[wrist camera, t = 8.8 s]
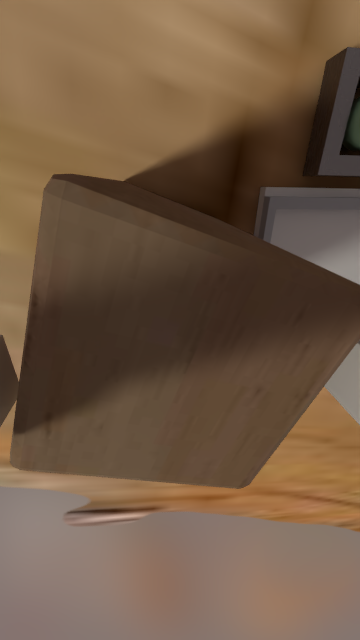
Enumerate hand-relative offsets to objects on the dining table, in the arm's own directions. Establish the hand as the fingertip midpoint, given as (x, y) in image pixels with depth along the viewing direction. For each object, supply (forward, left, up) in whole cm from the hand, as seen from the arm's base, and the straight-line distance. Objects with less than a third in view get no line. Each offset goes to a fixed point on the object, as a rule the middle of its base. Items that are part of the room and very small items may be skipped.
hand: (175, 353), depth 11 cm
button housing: (-11, +18, -17) cm, 27 cm away
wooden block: (0, 0, -17) cm, 17 cm away
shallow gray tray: (+2, +17, -17) cm, 24 cm away
